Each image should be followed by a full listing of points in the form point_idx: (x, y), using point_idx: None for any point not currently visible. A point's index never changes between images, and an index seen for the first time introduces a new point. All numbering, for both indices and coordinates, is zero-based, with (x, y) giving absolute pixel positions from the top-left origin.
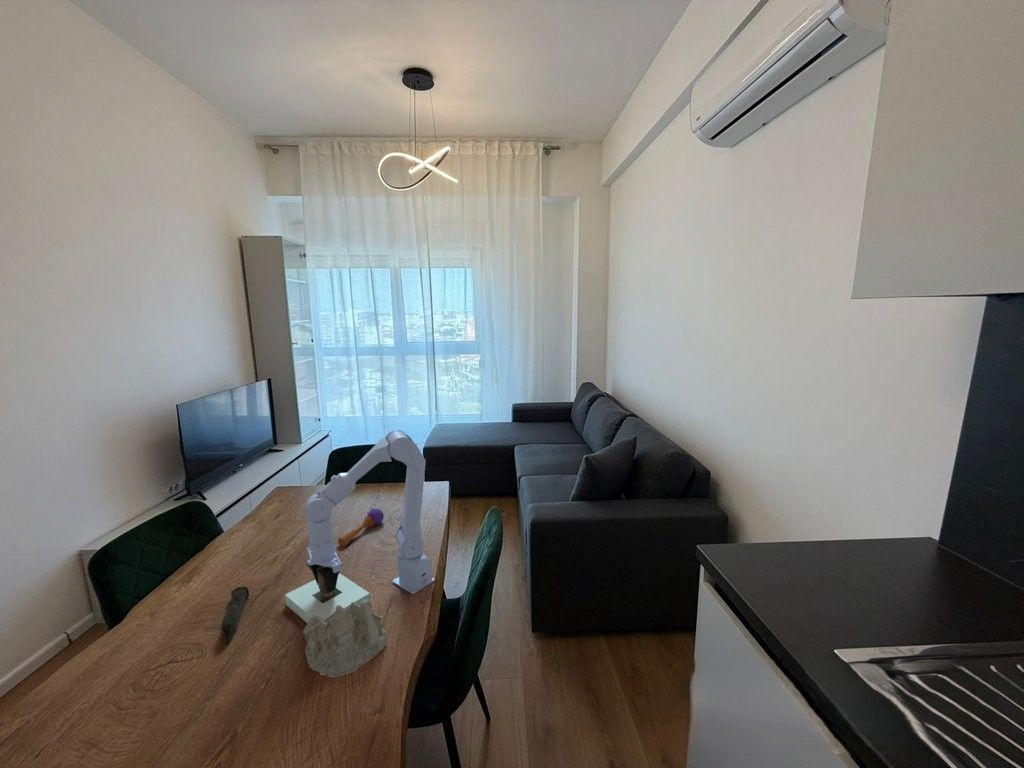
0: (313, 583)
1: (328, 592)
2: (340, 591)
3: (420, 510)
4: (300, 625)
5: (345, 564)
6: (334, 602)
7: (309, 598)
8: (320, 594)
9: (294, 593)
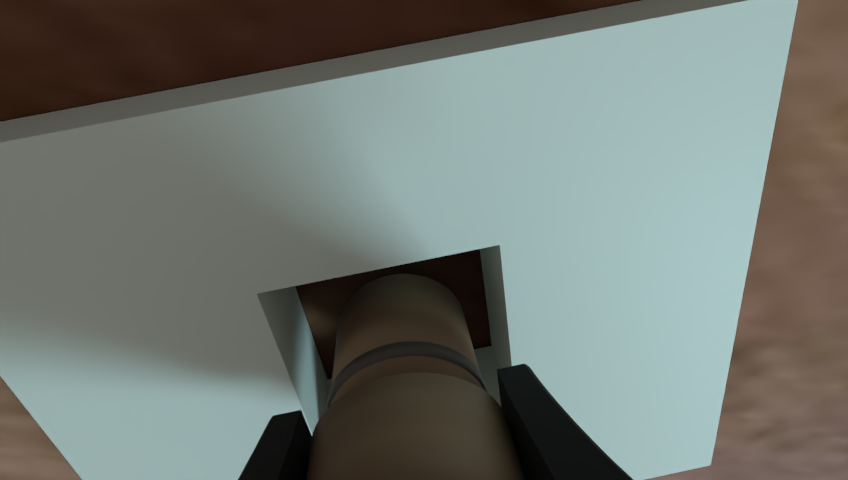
0: (689, 303)
1: (267, 424)
2: None
3: None
4: (234, 10)
5: (755, 469)
6: (198, 381)
7: (460, 211)
8: (416, 320)
9: (706, 99)
